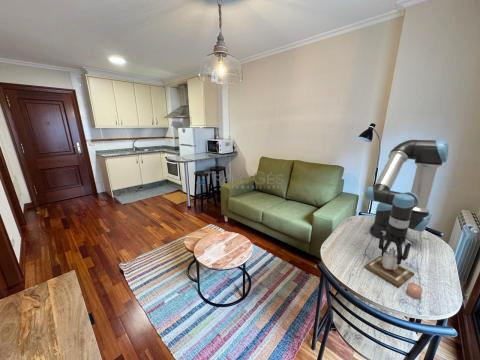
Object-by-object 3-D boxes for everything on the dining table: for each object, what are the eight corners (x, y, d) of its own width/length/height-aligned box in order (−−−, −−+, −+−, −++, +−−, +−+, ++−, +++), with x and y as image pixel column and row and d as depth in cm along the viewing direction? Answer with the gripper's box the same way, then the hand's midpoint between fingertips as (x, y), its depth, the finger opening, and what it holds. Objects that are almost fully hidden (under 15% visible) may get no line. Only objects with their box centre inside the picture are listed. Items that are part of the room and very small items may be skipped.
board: (379, 257, 113) (380, 253, 113) (414, 275, 100) (415, 271, 99) (363, 267, 106) (364, 263, 106) (398, 288, 93) (399, 284, 92)
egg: (409, 288, 93) (410, 281, 92) (422, 295, 88) (424, 288, 87) (403, 292, 90) (405, 285, 89) (417, 300, 86) (419, 293, 85)
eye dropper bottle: (396, 272, 99) (400, 251, 96) (382, 268, 102) (386, 248, 99) (395, 266, 103) (399, 247, 99) (382, 263, 106) (386, 243, 102)
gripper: (374, 220, 101) (367, 258, 108) (416, 236, 86) (406, 279, 93) (382, 216, 105) (375, 253, 111) (424, 231, 90) (413, 273, 96)
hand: (389, 265), depth 102 cm, fingers closed on eye dropper bottle, 5 cm apart
